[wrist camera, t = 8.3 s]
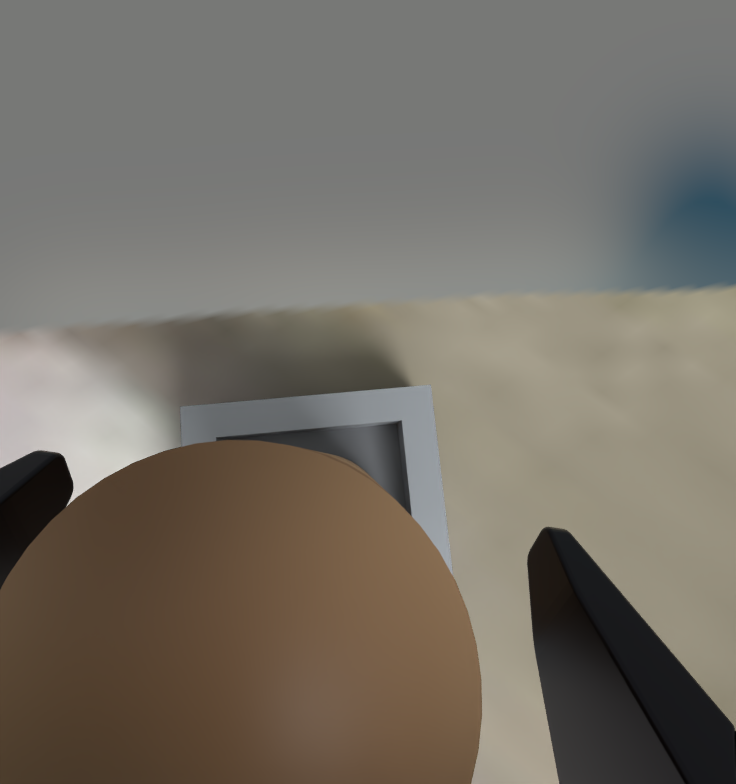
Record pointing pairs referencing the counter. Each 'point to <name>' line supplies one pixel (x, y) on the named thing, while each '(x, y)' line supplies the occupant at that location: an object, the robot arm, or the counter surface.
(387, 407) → the socket base
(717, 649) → the counter surface
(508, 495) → the counter surface
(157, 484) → the tan round-ended cylinder
